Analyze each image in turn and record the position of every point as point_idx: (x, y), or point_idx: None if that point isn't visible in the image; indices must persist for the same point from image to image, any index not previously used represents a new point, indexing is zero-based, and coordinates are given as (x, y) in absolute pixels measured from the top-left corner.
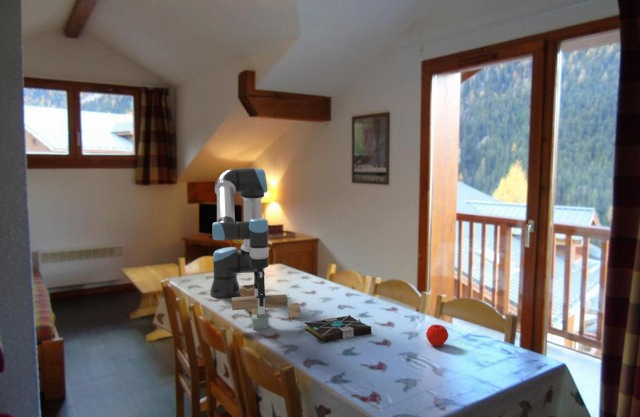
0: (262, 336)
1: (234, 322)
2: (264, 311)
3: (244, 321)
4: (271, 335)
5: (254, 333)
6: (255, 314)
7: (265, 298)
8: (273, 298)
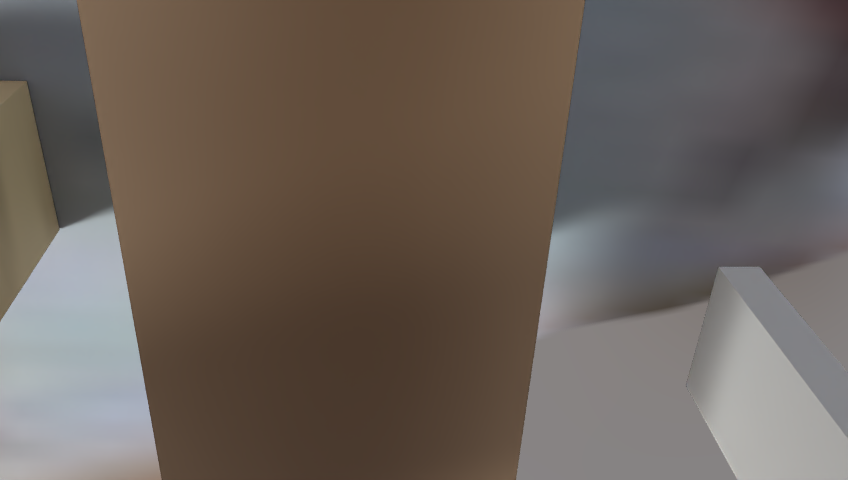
0: (790, 169)
1: (122, 447)
2: (780, 305)
3: (86, 340)
4: (818, 40)
5: (630, 254)
6: (13, 249)
7: (522, 427)
8: (549, 154)
